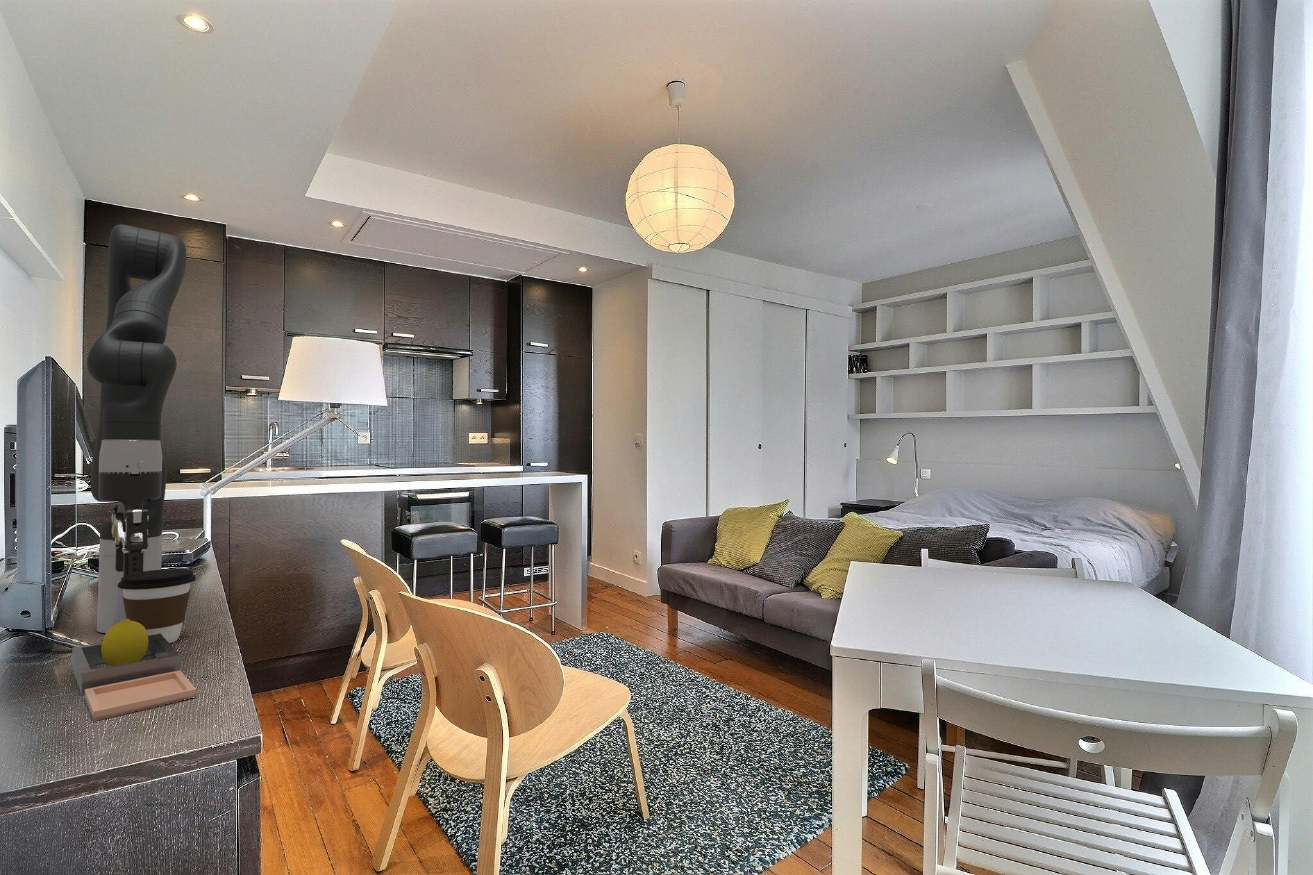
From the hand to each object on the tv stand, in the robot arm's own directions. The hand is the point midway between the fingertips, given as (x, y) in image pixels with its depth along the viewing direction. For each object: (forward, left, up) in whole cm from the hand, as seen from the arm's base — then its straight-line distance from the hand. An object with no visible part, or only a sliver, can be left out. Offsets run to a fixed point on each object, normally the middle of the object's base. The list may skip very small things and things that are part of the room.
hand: (128, 574), depth 97 cm
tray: (+15, 0, -15) cm, 21 cm away
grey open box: (0, 0, -15) cm, 15 cm away
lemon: (0, 0, -15) cm, 15 cm away
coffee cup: (-15, +6, -15) cm, 22 cm away
